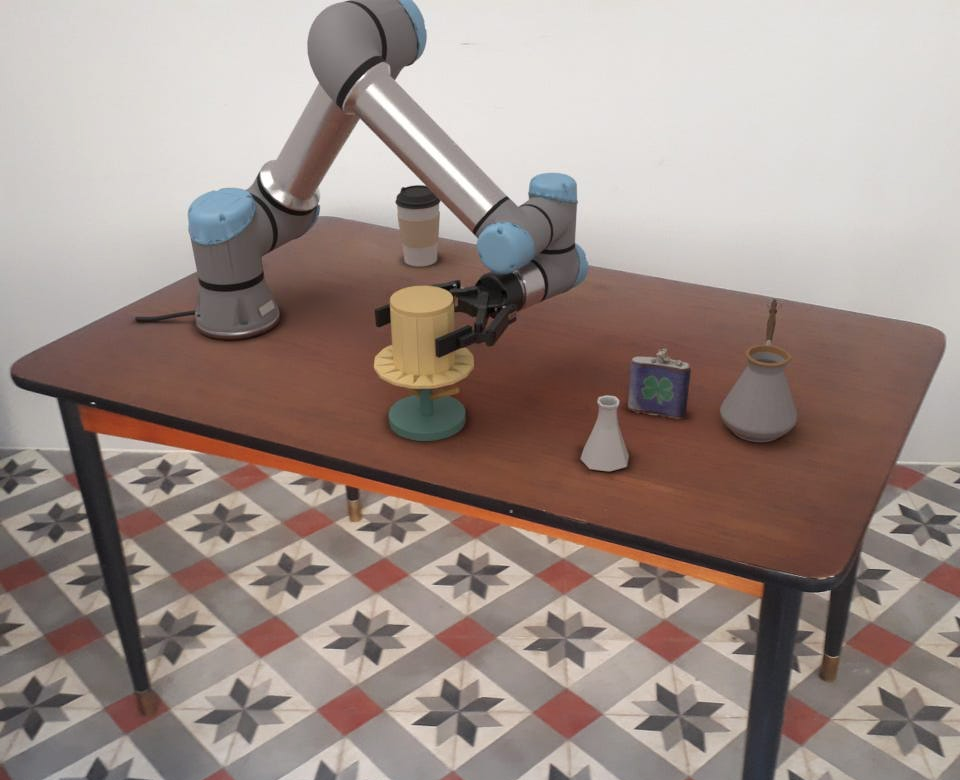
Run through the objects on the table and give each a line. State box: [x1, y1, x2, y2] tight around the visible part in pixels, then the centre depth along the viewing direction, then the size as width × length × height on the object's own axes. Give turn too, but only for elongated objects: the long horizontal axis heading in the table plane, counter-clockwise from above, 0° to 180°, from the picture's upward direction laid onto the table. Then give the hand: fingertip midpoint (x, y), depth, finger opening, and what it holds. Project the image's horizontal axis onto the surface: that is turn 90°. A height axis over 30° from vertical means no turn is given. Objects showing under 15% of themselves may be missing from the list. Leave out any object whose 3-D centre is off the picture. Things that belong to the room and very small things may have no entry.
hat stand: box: [388, 386, 467, 442], centre depth 158 cm, size 12×12×20 cm
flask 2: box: [627, 348, 692, 420], centre depth 162 cm, size 9×3×11 cm, turn 71°
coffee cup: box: [395, 184, 442, 267], centre depth 212 cm, size 9×9×15 cm
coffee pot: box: [719, 299, 798, 443], centre depth 160 cm, size 21×12×15 cm, turn 164°
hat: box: [373, 285, 475, 390], centre depth 155 cm, size 15×15×11 cm
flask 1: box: [580, 394, 630, 472], centre depth 151 cm, size 7×7×10 cm
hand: (405, 333), depth 153 cm, fingers open, 13 cm apart
